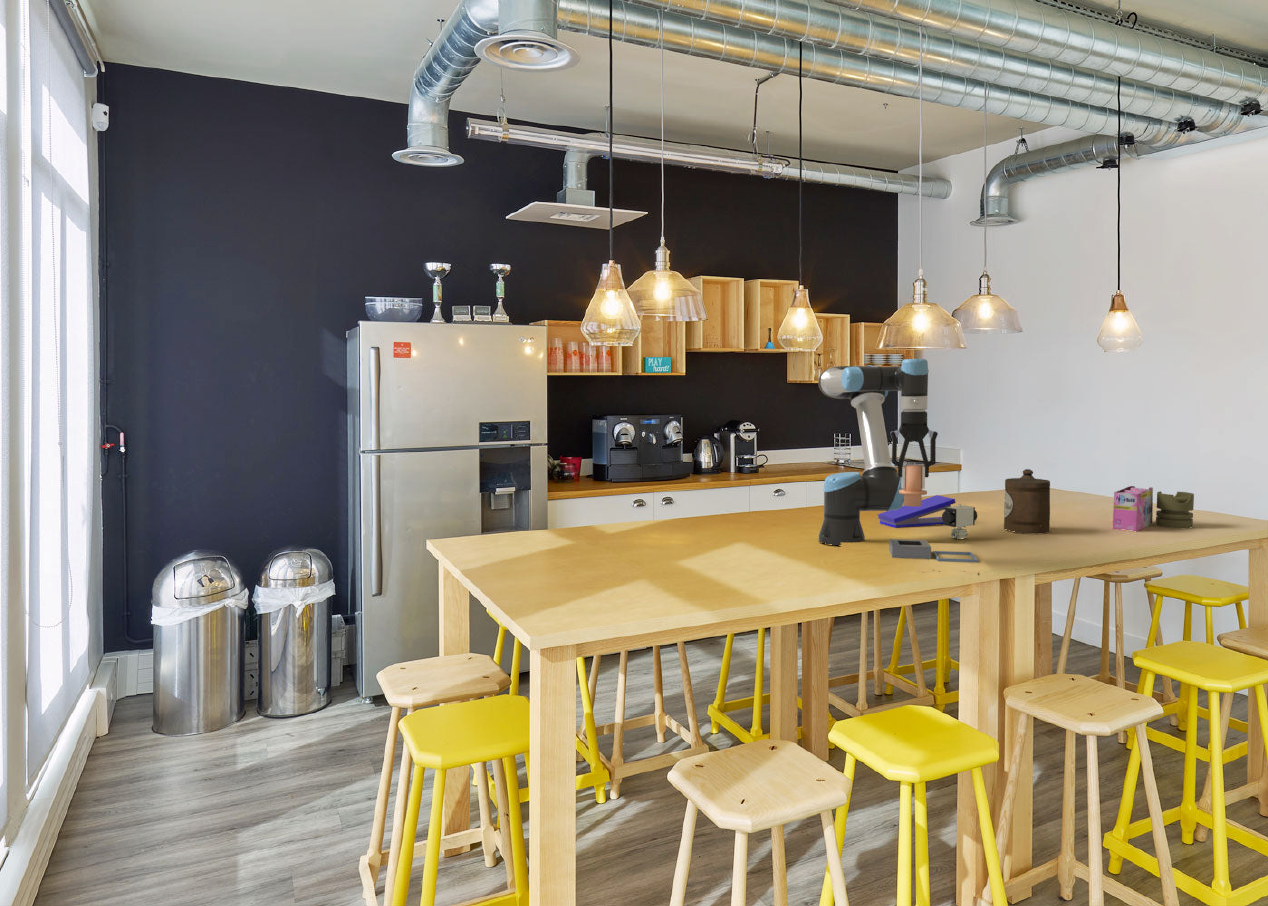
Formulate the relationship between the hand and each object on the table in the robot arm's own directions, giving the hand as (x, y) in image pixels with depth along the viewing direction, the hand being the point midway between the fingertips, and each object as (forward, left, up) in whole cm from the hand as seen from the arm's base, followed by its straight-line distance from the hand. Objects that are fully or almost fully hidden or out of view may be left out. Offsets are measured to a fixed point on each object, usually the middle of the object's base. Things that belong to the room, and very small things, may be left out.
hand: (913, 488), depth 254 cm
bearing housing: (-1, 0, -22) cm, 22 cm away
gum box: (+84, +72, -22) cm, 113 cm away
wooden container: (+45, +57, -22) cm, 76 cm away
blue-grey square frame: (+12, -3, -22) cm, 25 cm away
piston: (+99, +75, -22) cm, 126 cm away
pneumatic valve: (+19, +37, -22) cm, 47 cm away
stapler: (+9, +67, -22) cm, 71 cm away
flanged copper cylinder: (0, 0, -5) cm, 5 cm away
